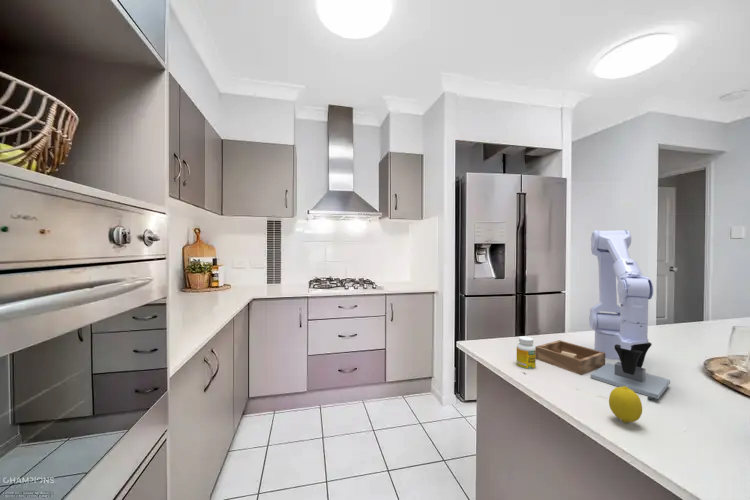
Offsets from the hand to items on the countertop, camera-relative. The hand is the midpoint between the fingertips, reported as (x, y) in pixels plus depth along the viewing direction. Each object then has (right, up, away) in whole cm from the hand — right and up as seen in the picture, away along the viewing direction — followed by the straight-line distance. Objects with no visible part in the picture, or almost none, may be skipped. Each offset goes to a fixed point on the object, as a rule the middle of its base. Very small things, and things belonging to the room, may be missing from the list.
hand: (632, 369), depth 81 cm
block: (-8, -3, +15) cm, 17 cm away
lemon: (-17, -5, -17) cm, 24 cm away
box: (-9, -4, +14) cm, 17 cm away
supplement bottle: (-24, -4, +11) cm, 27 cm away
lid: (0, -5, +1) cm, 5 cm away
